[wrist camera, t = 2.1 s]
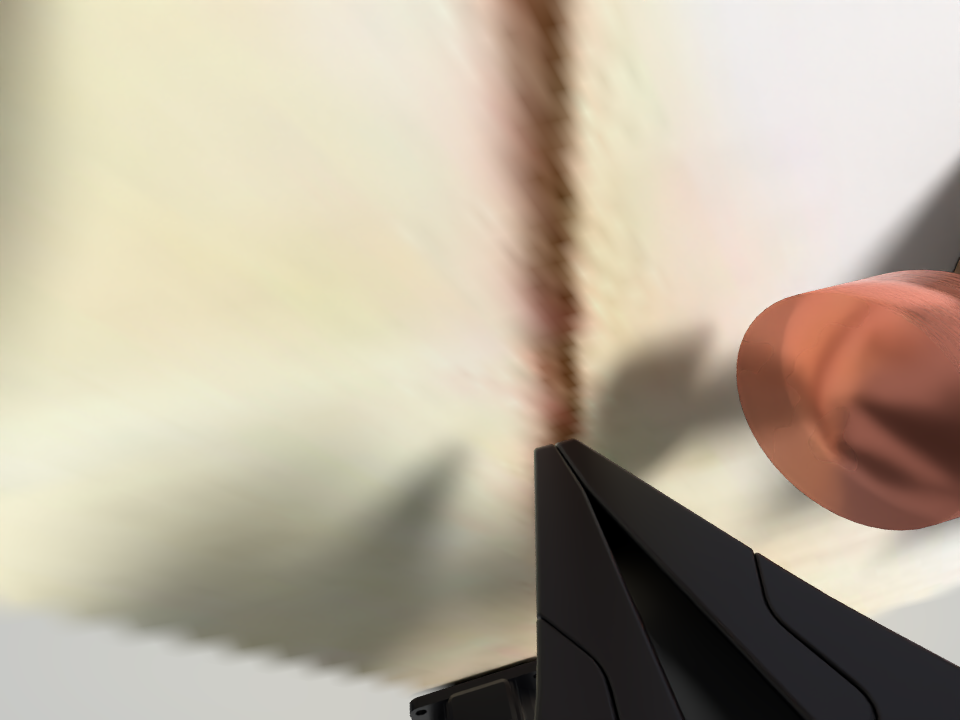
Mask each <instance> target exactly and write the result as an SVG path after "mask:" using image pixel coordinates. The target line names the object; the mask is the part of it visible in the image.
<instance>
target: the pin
mask: <svg viewBox="0 0 960 720" xmlns="http://www.w3.org/2000/svg"><path fill="white" fill-rule="evenodd" d="M736 377H737V388H738V393H739V398H740V402H741V406H742V409H743V412H744V415H745V417H746V420H747V423H748V425H749V427H750V429H751V431H752V433H753V435H754V437H755V438H756V440H757V442H758V443H759V445H760V447H761V448H762V450H763V451H764V453H765V454H766V455H767V457H768V458H769V459H770V461H771V462H772V463H773V464H774V466H775V467H776V468H777V469H778V470H779V471H780V472H781V473H782V474H783V475H784V477H785V478H786V479H787V480H789V481H790V482H791V483H792V484H793V485H794V486H795V487H796V488H797V489H798V490H800V491H801V492H802V493H804V494H805V495H806V496H807V497H809V498H810V499H812V500H813V501H815V502H816V503H818V504H819V505H821V506H822V507H824V508H826V509H828V510H829V511H831V512H833V513H835V514H837V515H839V516H841V517H844V518H846V519H848V520H851V521H853V522H856V523H859V524H863V525H866V526H870V527H875V528H880V529H886V530H914V529H920V528H924V527H928V526H932V525H936V524H939V523H942V522H945V521H949V520H952V519H955V518H958V517H960V274H957V273H951V272H945V271H934V270H906V271H898V272H892V273H886V274H882V275H877V276H873V277H869V278H865V279H861V280H857V281H852V282H848V283H844V284H840V285H836V286H832V287H827V288H823V289H819V290H815V291H811V292H807V293H802V294H798V295H795V296H791V297H788V298H785V299H783V300H780V301H778V302H776V303H774V304H773V305H771V306H770V307H768V308H767V309H765V310H764V311H763V312H762V313H761V314H760V315H758V316H757V317H756V319H755V320H754V321H753V322H752V324H751V325H750V326H749V328H748V330H747V331H746V333H745V335H744V337H743V340H742V342H741V345H740V349H739V353H738V359H737V374H736Z"/></svg>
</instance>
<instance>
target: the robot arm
mask: <svg viewBox="0 0 960 720" xmlns="http://www.w3.org/2000/svg"><path fill="white" fill-rule="evenodd" d="M534 487H535V546H536V605H537V660H535V661H532V662H528V663H525V664H522V665H519V666H516V667H512V668H509V669H506V670H503V671H500V672H497V673H493V674H490V675H487V676H484V677H481V678H477V679H474V680H471V681H468V682H465V683H461V684H458V685H455V686H452V687H449V688H445V689H442V690H439V691H436V692H433V693H430V694H426V695H423V696H420V697H417V698H415V699H413V700H412V701H411V702H410V717H411V718H412V720H960V667H959V666H957V665H955V664H953V663H952V662H950V661H948V660H946V659H944V658H942V657H940V656H938V655H937V654H934V653H932V652H931V651H929V650H927V649H925V648H923V647H922V646H920V645H918V644H916V643H914V642H912V641H910V640H909V639H907V638H905V637H902V636H901V635H899V634H897V633H895V632H893V631H892V630H890V629H888V628H886V627H884V626H882V625H881V624H879V623H877V622H875V621H873V620H872V619H870V618H868V617H866V616H864V615H863V614H861V613H859V612H857V611H855V610H854V609H852V608H850V607H848V606H846V605H845V604H843V603H841V602H839V601H837V600H836V599H834V598H832V597H830V596H828V595H827V594H825V593H823V592H822V591H820V590H818V589H817V588H815V587H813V586H812V585H810V584H808V583H807V582H805V581H803V580H802V579H800V578H798V577H797V576H795V575H793V574H792V573H790V572H788V571H787V570H785V569H783V568H782V567H780V566H779V565H777V564H775V563H774V562H772V561H771V560H769V559H767V558H766V557H764V556H763V555H761V554H759V553H755V554H754V552H753V550H752V549H751V548H750V547H748V546H746V545H745V544H743V543H742V542H740V541H738V540H737V539H735V538H734V537H732V536H730V535H729V534H727V533H726V532H724V531H722V530H721V529H719V528H718V527H716V526H714V525H713V524H711V523H710V522H708V521H706V520H705V519H703V518H702V517H700V516H698V515H697V514H695V513H694V512H692V511H690V510H689V509H687V508H686V507H684V506H682V505H681V504H679V503H678V502H676V501H674V500H673V499H671V498H670V497H668V496H666V495H665V494H663V493H662V492H660V491H658V490H657V489H655V488H654V487H652V486H650V485H649V484H647V483H646V482H644V481H642V480H641V479H639V478H638V477H636V476H634V475H633V474H631V473H630V472H628V471H626V470H625V469H623V468H622V467H620V466H618V465H617V464H615V463H614V462H612V461H610V460H609V459H607V458H606V457H604V456H602V455H601V454H599V453H598V452H596V451H594V450H593V449H591V448H590V447H588V446H587V445H585V444H583V443H582V442H580V441H579V440H577V439H569V440H565V441H562V442H558V443H556V444H555V445H552V444H550V445H546V446H542V447H539V448H536V449H535V450H534Z"/></svg>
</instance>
